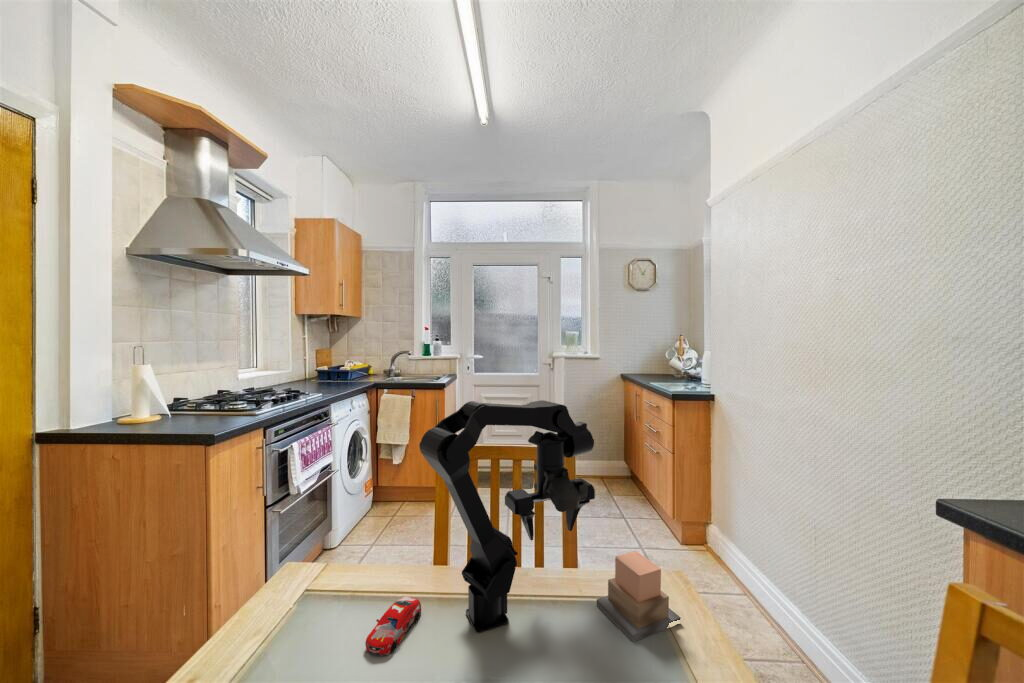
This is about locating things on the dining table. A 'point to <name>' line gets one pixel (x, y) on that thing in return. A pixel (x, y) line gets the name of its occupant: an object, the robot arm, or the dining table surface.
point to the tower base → (629, 625)
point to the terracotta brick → (638, 576)
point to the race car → (393, 626)
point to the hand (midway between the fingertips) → (550, 534)
